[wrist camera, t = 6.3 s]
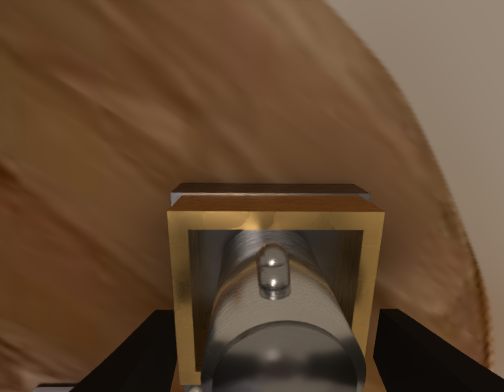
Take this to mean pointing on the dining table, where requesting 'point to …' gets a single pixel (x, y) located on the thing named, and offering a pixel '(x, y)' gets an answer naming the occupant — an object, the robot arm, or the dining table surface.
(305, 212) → the grey and gold fixture
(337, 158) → the dining table surface
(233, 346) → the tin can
